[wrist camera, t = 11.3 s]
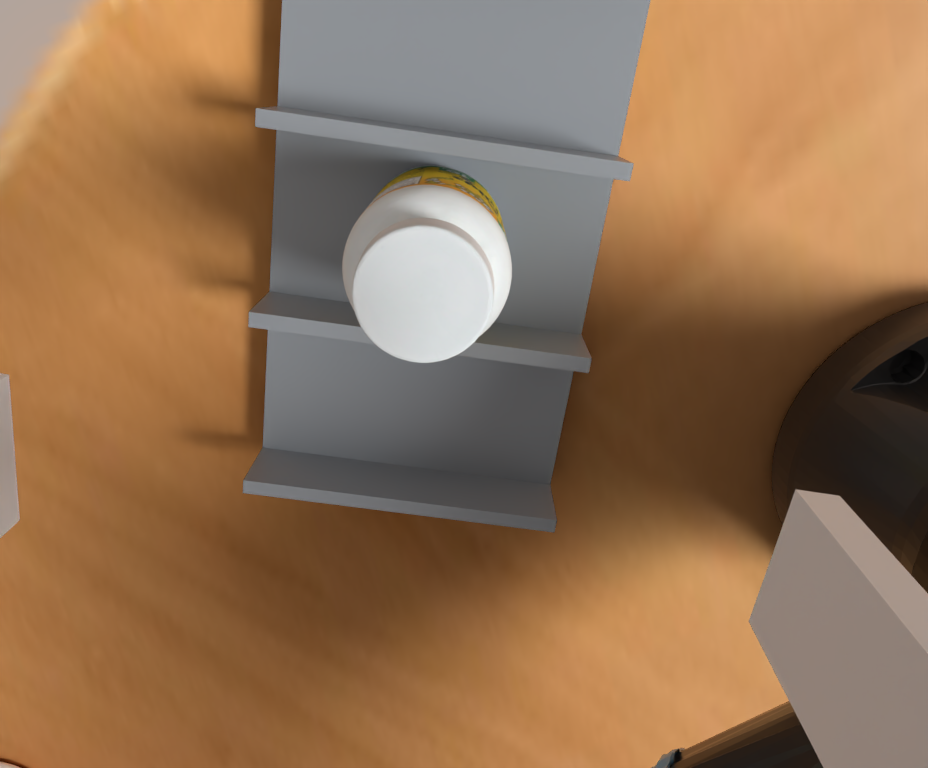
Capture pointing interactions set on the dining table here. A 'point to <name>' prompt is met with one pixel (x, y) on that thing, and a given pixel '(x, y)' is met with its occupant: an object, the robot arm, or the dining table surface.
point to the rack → (524, 219)
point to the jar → (7, 765)
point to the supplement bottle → (428, 264)
